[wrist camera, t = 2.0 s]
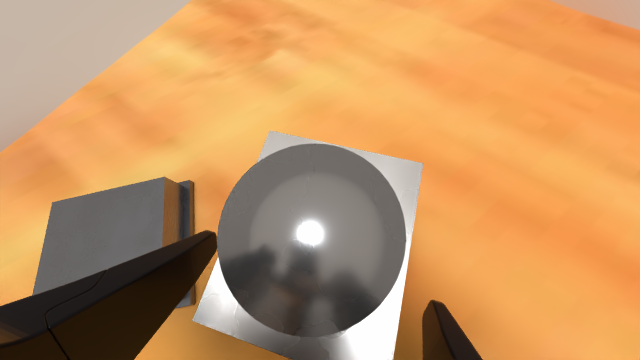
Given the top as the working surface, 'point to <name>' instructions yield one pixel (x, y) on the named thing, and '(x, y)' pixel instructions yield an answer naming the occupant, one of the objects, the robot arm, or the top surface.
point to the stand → (114, 230)
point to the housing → (314, 251)
